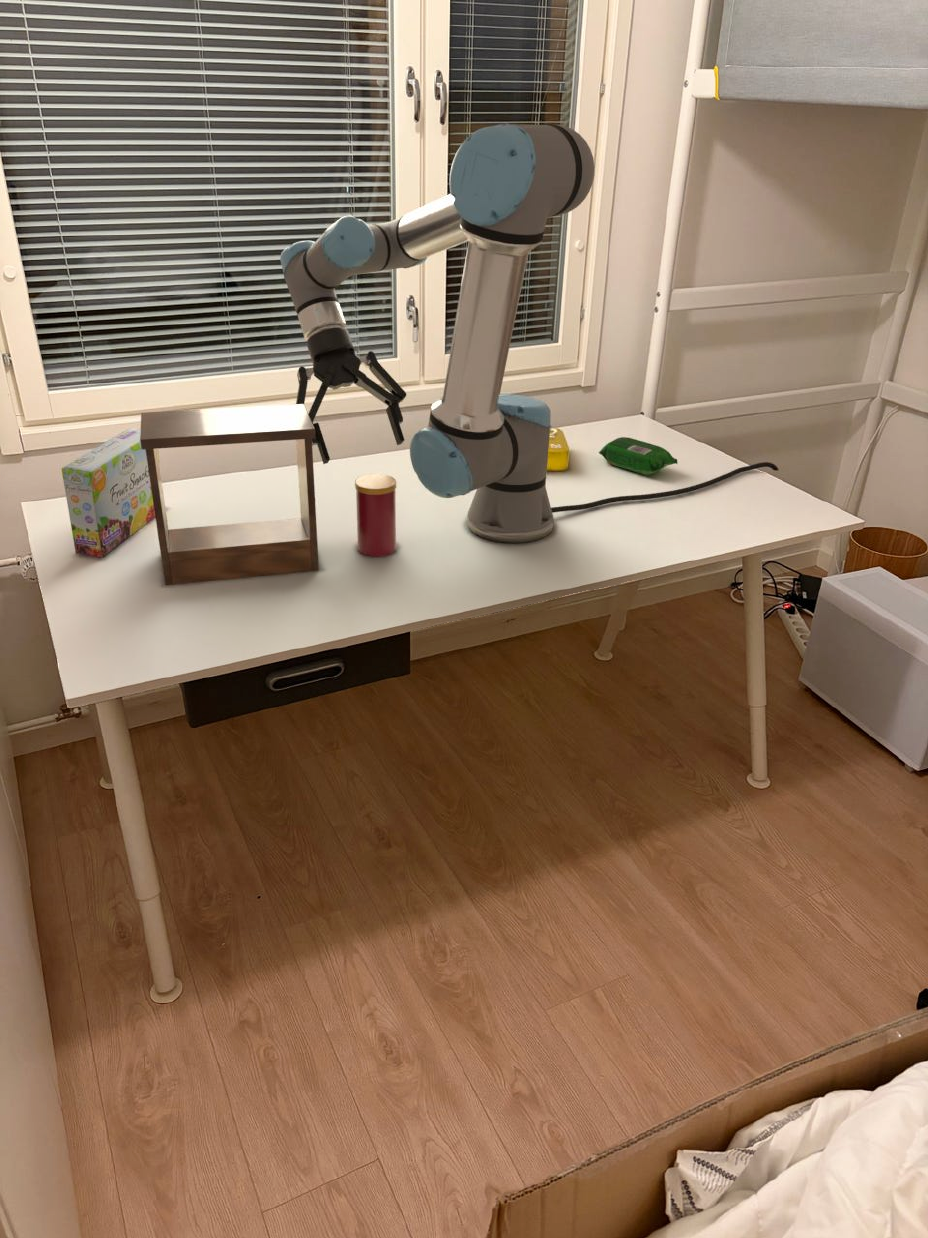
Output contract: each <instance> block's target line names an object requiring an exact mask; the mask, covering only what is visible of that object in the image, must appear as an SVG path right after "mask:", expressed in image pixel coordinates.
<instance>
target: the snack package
mask: <svg viewBox="0 0 928 1238" xmlns="http://www.w3.org/2000/svg"><path fill="white" fill-rule="evenodd" d="M598 454H600V455H601V456H602V457H603V458H604V460H605V461H606V462H607V463H608V464H610V465H612V466H615V467H618V468H622V469H625V470H628V471H631V472H634V473H638V474H642V475H645V476H651V475H653V474H655V473H657V472H659V471H660V470H662V469H664V468H666V467H667V466H671V465H678V458H675V457H673V456H672V454H671V453H670V452H669V451H668V450H667V449H666V448H664V447H662V446H659V445H656V444H652V443H650V442H647V441H644V440H643V441H642V440H639V439H635V438H633V437H626V436H621V437H618V438H615V439H613V440H611V441H610V442H608V443H606V444H605V445H604V446H603V447H602V448H601V450H599V452H598Z"/></svg>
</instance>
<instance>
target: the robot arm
mask: <svg viewBox="0 0 928 1238" xmlns="http://www.w3.org/2000/svg"><path fill="white" fill-rule="evenodd" d="M593 156H594V155H593V152H592V149H591V148H590V146H589V144H588V143H587V141H586V139H584V137H583V136H582V135H581V134H580V133H579V132H577V131H576V130H575V129H573V128H571V127H569V126H566V125H563V124H553V123H551V124H550V123H548V124H511V123H499V124H496V125H493V126H486V127H482V128H479V129H477V130H475V131H474V132H472V133H471V134H470V136H468V137H467V138H465V139H464V141H463V142H462V143H461V144H460V146H459V147H458V149H457V150H456V153H455V155H454V158H453V160H452V164H451V167H450V172H449V192H450V194H448V195H445V196H443V197H441V198H439V199H437V200H434V201H432V202H430V203H428V204H425V205H424V206H422V207H419V208H417V209H415V210H413V211H411V212H408V213H405V215H403V216H400V217H398V218H395V219H394V220H391V221H387V222H381V223H371V224H367V223H366V222H365V221H364V220H363V219H361V218H357V217H355V216H353V215H345V216H342V217H339V219H337V220H336V221H335V222H334V223H331V224H330V226H328V227H327V228H326V230H324V232H323V233H322V234H321V235H320V236H319V237H318V238H317V240H315V241H313V240H300V241H297V242H294V243H292V245H290V246H286V248H284V249H283V251H282V252H281V254H280V259H279V260H280V265H281V267H282V272H283V279H284V282H285V283H286V286H287V289H288V293H289V294H290V298H291V300H292V303H293V306H294V307H293V308H294V310H295V312H296V315H297V318H298V321H299V324H300V328H301V332H302V334H303V337H304V339H305V340H306V342H305V343H306V347H307V351H308V353H309V356H310V359H311V362H312V367H305V366H299V367H298V370H297V372H296V376H297V377H296V378H297V381H298V390H297V396H296V400H295V404H304V405H305V402H306V395H307V389H308V383H309V382H310V381H311V380H312V376H314V378H316V379H317V380H318V381H320V382H321V384H320V387H319V389H318V391H317V394H316V395H315V398H314V400H313V402H312V405H311V407H310V409H309V411H308V415H309V417H310V419H311V421H312V424H313V426H314V428H315V439H312V447H313V446H317V448H318V451H319V454H320V458H321V461H322V464H323V465H326V464H328V463H329V462H330V460H331V458H330V455H329V452H328V449H327V444H326V441H325V439H324V435H323V433H322V430H321V426H320V423H319V422H315V423H314V420H315V418H316V416H317V413H318V411H319V409H320V406H321V405H322V402H323V400H324V397H325V395H326V393H327V391H328V388H329V389H332V390H335V391H336V390H338V389H341V388H348V387H351V386H352V385H353V384H354V385H355V386H357V387H359V388H361V389H363V390H364V391H365V392H368V394H370V395H372V396H373V397H375V398H376V399H378V400H379V401H380V402H382V403H383V404H385V405H386V406H387V408H386V409H385V412H386V415H387V418H388V421H389V424H390V427H391V430H392V433H393V437H394V439H395V443H396V445H397V446H400V445H402V444H403V443H404V442H405V437H404V433H403V431H402V427H401V424H402V423H403V422H404V416H403V414H402V410H401V408H400V407H401V406H400V404H401V403H402V402H403V401H404V400H405V399H406V397H407V392H406V391H405V390H404V389H403V388H402V386H401V385H399V383H398V382H397V381H396V380H395V379H394V378H393V376H391V374H390V373H389V372H388V371H387V370H386V369H385V368H384V367H383V366H382V365H381V363H379V361H378V359H377V357H376V354H375V352H374V351H372V350H371V351H368V352H367V354H364V355H362V356H358V355H357V354H356V351H355V348H354V345H353V342H352V339H351V336H350V332H349V330H348V329H346V327H347V323H346V320H345V317H344V314H343V310H342V308H341V305H340V302H339V298H338V295H337V292H336V289H337V288H338V287H339V286H340V285H341V284H342V283H343V282H345V281H346V280H347V279H348V278H350V277H352V276H356V275H363V274H364V275H365V274H369V273H376V272H381V271H390V270H397V269H409V268H412V267H416V266H419V265H422V264H423V263H425V262H426V261H427V259H428V257H431V256H434V255H437V254H439V253H441V252H444V251H446V250H448V249H451V248H454V247H457V246H459V245H462V244H465V243H467V249H466V254H465V260H464V267H463V273H462V278H461V285H460V290H459V297H458V302H457V308H456V314H455V321H454V327H453V333H452V339H451V344H450V345H451V346H450V352H449V358H448V363H447V370H446V376H445V382H444V388H443V394H442V396H440V397H439V398H438V399H436V400H435V401H433V403H432V404H431V407H430V413H429V419H428V424H427V427H422V428H420V430H418V431H417V432H416V433H414V435H413V436H412V438H411V441H410V443H409V456H410V457H409V458H410V462H411V466H412V469H413V471H414V473H415V474H416V476H417V479H418V480H419V482H420V483H421V484H422V485H423V487H424V488H425V489H426V490H428V492H430V493H432V494H433V495H435V496H437V497H439V498H442V499H452V498H456V497H459V496H466V495H467V494H469V493H471V492H473V491H475V493H474V495H473V498H472V501H471V504H470V506H469V508H468V511H467V527H468V528H469V530H470V531H471V532H472V533H473V534H475V535H477V536H479V537H482V538H484V539H487V540H491V541H494V542H500V543H514V544H515V543H527V542H533V541H537V540H540V539H542V538H545V537H547V536H549V534H550V533H551V532H552V531H553V529H554V527H553V526H554V514H553V513H561V512H571V511H582V510H588V509H592V508H596V507H600V506H603V505H608V504H613V503H619V502H620V503H621V502H627V501H628V502H630V501H643V500H644V501H645V500H652V499H653V500H654V499H659V498H666V497H672V496H677V495H683V494H687V493H691V492H694V491H697V490H701V489H705V488H707V487H710V486H712V485H714V484H718V483H719V482H722V481H724V480H727V479H730V478H731V477H734V476H736V475H739V474H741V473H745V472H749V471H753V470H756V469H759V468H770V469H772V470H773V471H777V472H779V470H780V469H779V468H778V466H777V465H776V464H775V463H772V462H770V461H764V462H763V461H762V462H758V463H754V464H750V465H745V466H742V467H738V468H736V469H733V470H731V471H729V472H727V473H725V474H722V475H719V476H717V477H714V478H712V479H710V480H707V481H704V482H700V483H698V484H695V485H691V486H687V487H684V488H679V489H673V490H668V491H661V492H653V493H646V494H633V495H620V496H613V497H608V498H603V499H599V500H595V501H592V502H588V503H587V502H586V503H581V504H572V505H562V506H561V505H560V506H554V507H553V506H552V507H551V503H550V499H549V495H548V491H547V461H548V449H549V436H550V429H551V428H552V425H551V416H552V415H551V414H552V413H551V408H550V407H549V405H548V404H547V403H546V402H545V401H542V400H540V399H538V398H534V397H531V396H525V395H520V394H512V393H501V389H502V385H503V380H504V376H505V371H506V366H507V362H508V356H509V351H510V347H511V341H512V336H513V332H514V327H515V323H516V322H515V321H516V318H517V317H516V316H517V313H518V307H519V301H520V297H521V293H522V288H523V283H524V277H525V273H526V269H527V268H526V267H527V263H528V259H529V253H530V252H531V251H532V250H534V249H535V248H537V247H538V246H540V245H541V244H542V243H543V242H542V241H543V239H544V234H545V229H546V225H547V220H548V218H553V217H558V216H562V215H565V214H568V213H570V212H572V211H574V210H575V209H577V208H578V207H579V206H581V204H582V203H583V202H584V201H585V200H586V198H587V197H588V195H589V193H590V192H591V188H592V186H593V183H594V179H595V161H594V160H595V159H594V157H593ZM361 365H362V366H364V367H365V368H366V369H369V371H370V372H371V374H372V375H374V376H373V377H375V378H376V379H377V380H378V381H379V382H380V383H381V384H382V385H383V387H384V388H383V387H382V386H381V385H379V384H378V383H376V382H375V381H374V380H372V379H371V378H369V377H368V376H367V375H366V373H364V372H363V371H361V370H360V367H361Z"/></svg>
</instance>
